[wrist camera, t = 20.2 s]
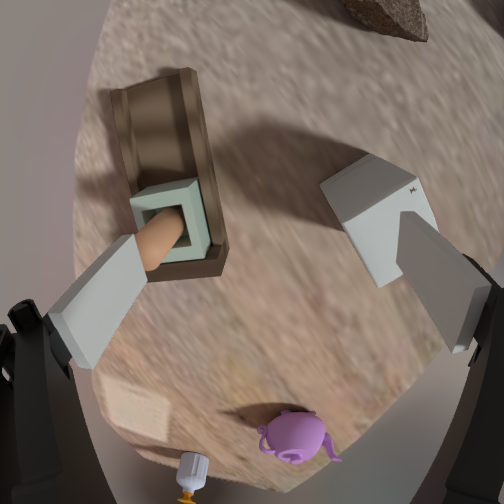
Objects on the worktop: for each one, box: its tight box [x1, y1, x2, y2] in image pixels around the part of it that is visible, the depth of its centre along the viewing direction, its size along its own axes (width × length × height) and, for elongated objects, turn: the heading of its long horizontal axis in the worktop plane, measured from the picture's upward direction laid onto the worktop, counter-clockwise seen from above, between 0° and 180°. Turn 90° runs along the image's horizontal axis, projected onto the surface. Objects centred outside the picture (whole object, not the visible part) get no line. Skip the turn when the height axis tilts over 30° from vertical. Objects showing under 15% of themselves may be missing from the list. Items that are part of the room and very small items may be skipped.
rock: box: [344, 0, 428, 42], centre depth 23 cm, size 12×10×10 cm
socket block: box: [129, 177, 212, 263], centre depth 38 cm, size 9×8×6 cm
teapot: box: [257, 409, 342, 464], centre depth 58 cm, size 20×14×12 cm
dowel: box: [134, 204, 187, 271], centre depth 34 cm, size 4×4×11 cm
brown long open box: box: [110, 67, 230, 283], centre depth 36 cm, size 26×11×8 cm, turn 9°
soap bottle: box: [176, 452, 209, 504], centre depth 67 cm, size 9×9×25 cm
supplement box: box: [319, 153, 439, 289], centre depth 33 cm, size 9×9×15 cm
